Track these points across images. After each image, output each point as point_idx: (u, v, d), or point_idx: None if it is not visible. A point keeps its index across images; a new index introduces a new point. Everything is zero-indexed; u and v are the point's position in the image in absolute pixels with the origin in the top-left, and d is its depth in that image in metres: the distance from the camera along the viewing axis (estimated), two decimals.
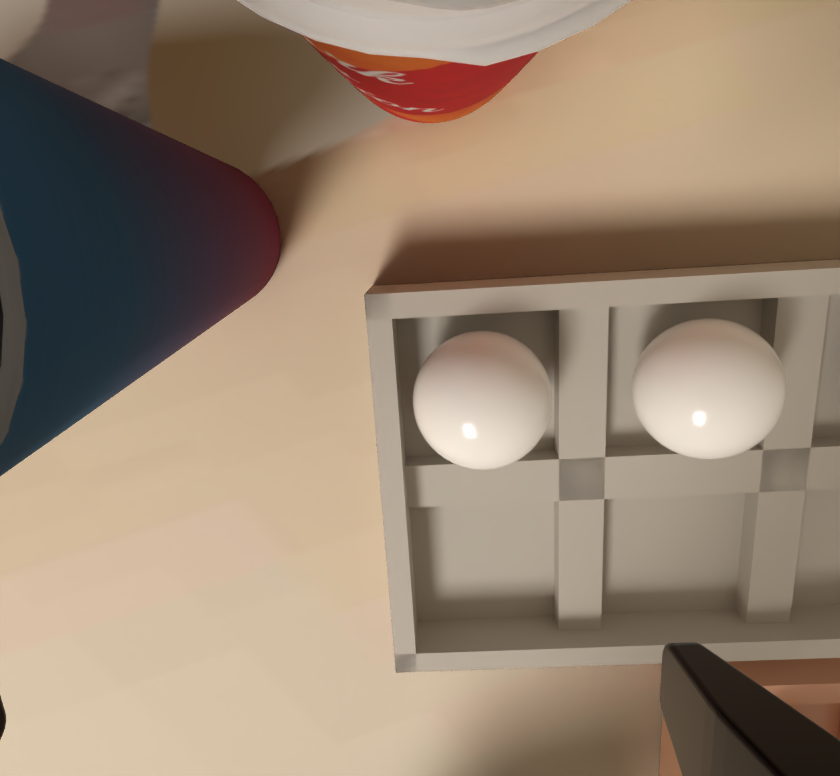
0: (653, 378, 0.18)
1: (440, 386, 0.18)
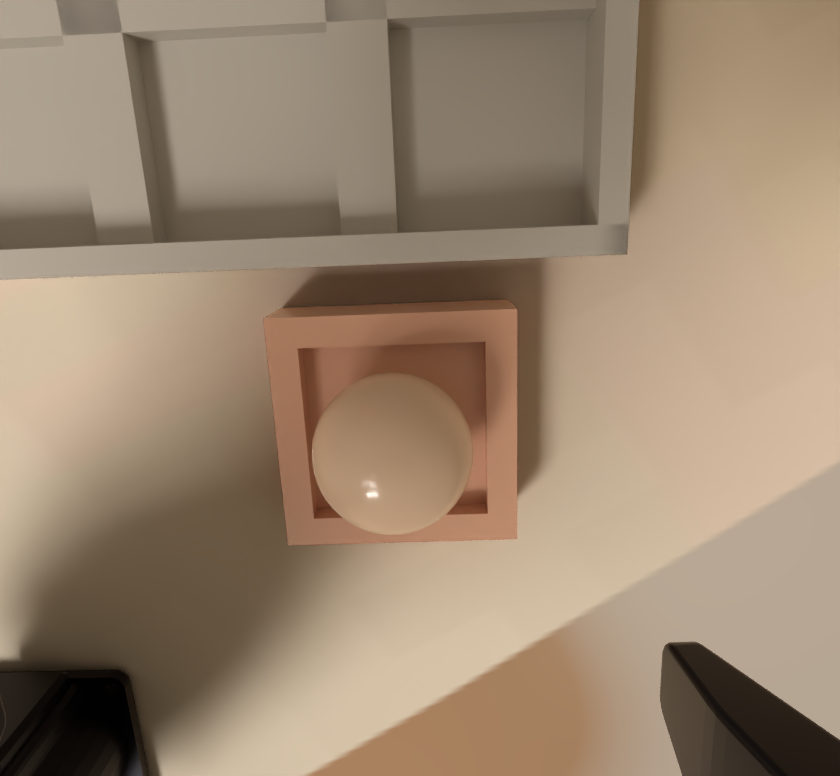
0: None
1: None
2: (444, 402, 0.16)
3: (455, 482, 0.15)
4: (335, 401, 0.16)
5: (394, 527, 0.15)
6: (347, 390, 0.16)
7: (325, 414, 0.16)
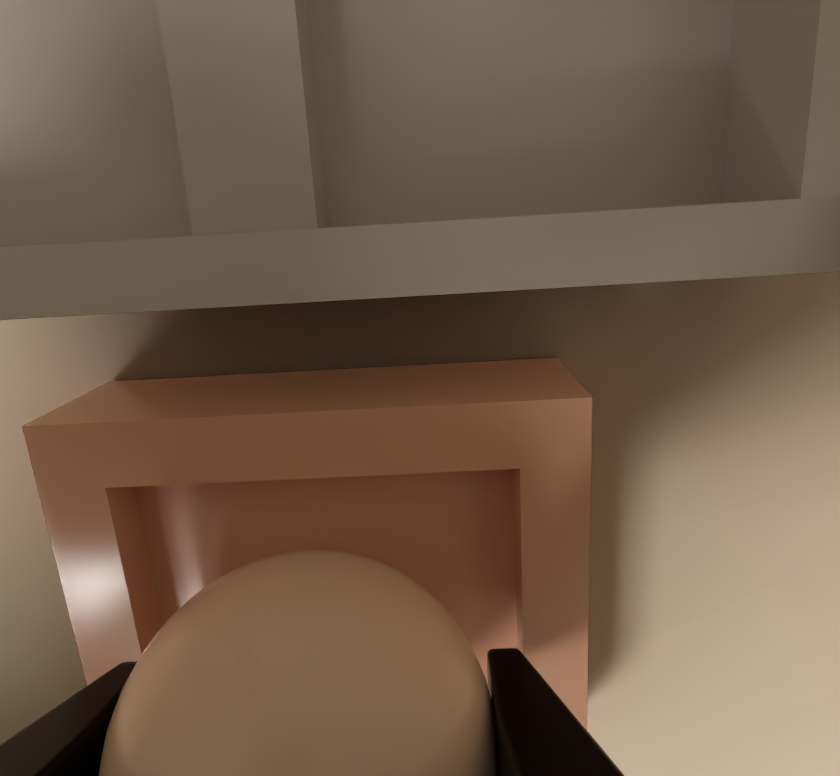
0: None
1: None
2: (423, 663, 0.06)
3: None
4: (151, 654, 0.06)
5: None
6: (182, 624, 0.06)
7: (126, 687, 0.06)
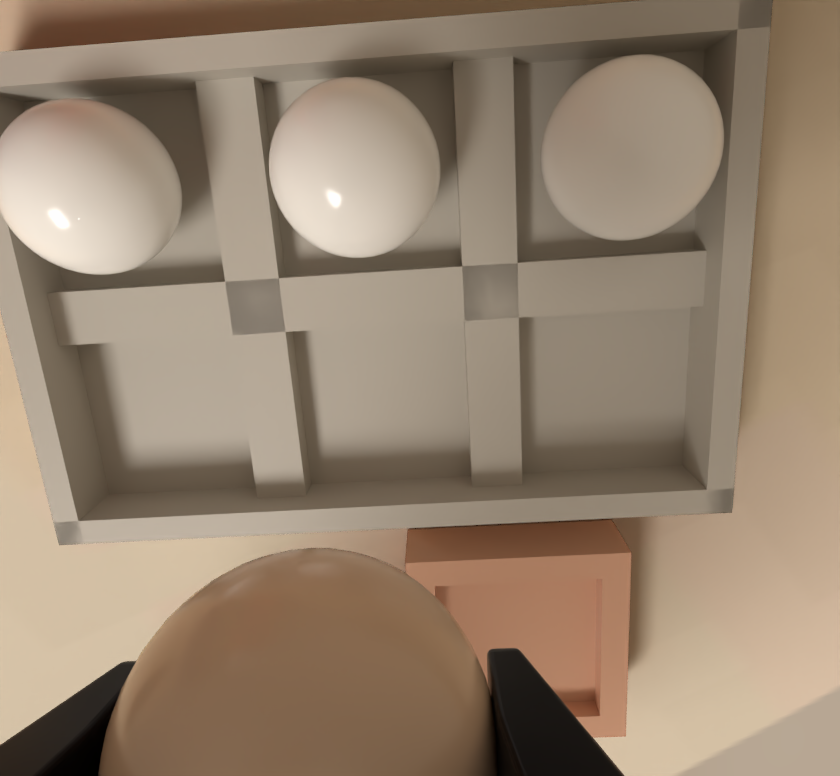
0: (271, 146, 0.15)
1: None
2: (423, 661, 0.06)
3: None
4: (151, 653, 0.06)
5: None
6: (182, 623, 0.06)
7: (126, 686, 0.06)
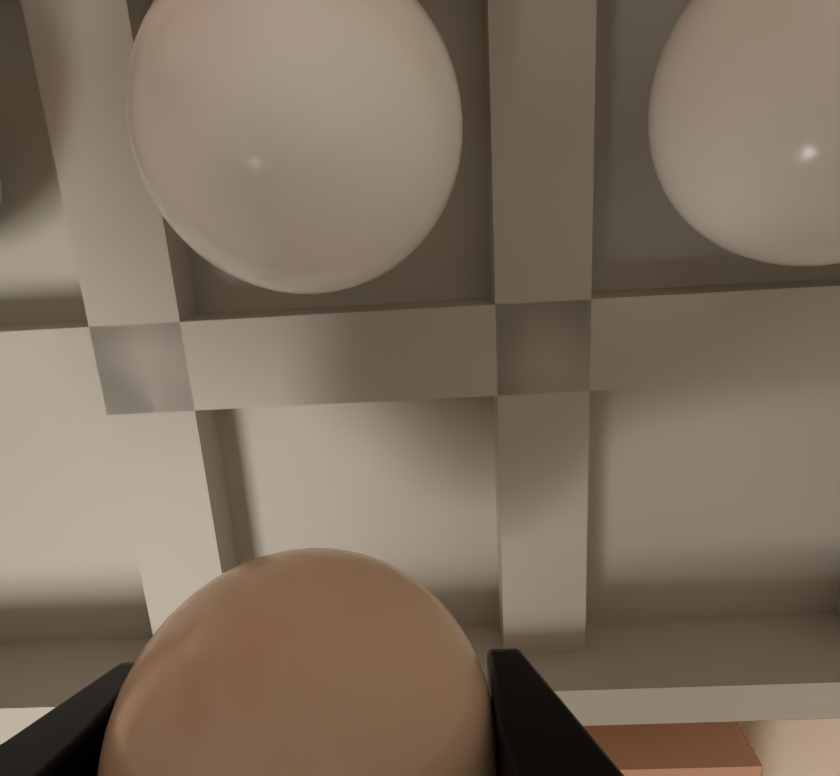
0: None
1: None
2: (423, 661, 0.06)
3: None
4: (150, 652, 0.06)
5: None
6: (181, 622, 0.06)
7: (125, 686, 0.06)
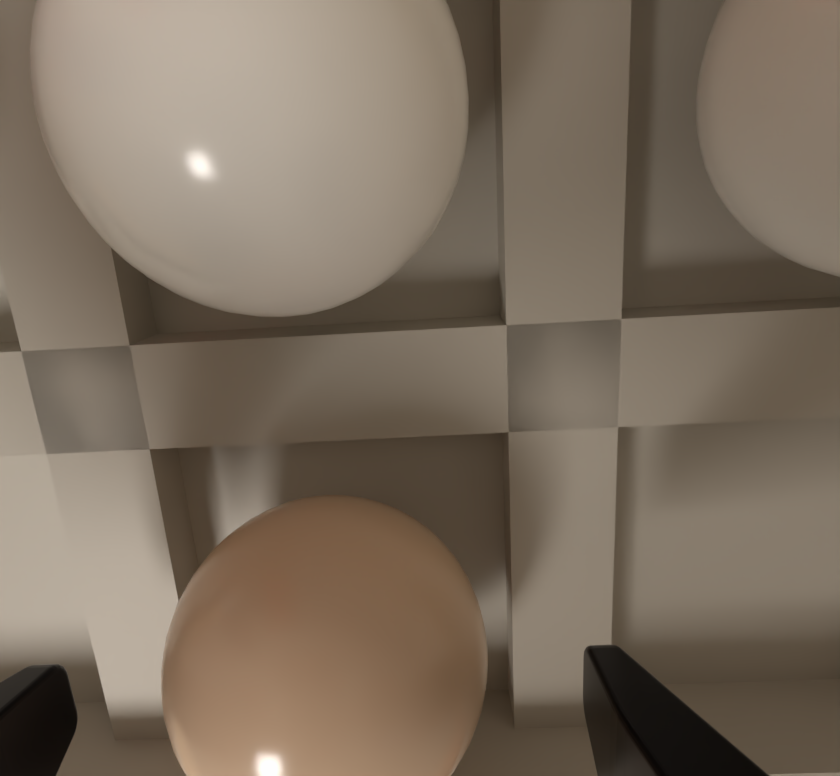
0: None
1: None
2: (426, 576, 0.08)
3: (453, 751, 0.07)
4: (203, 572, 0.08)
5: None
6: (228, 548, 0.08)
7: (183, 599, 0.08)
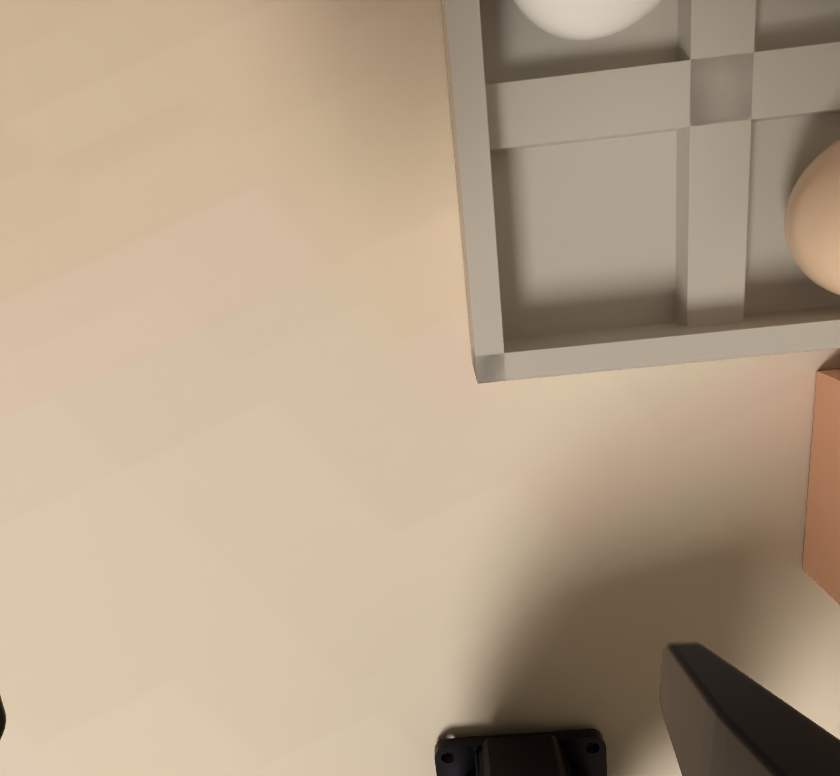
0: None
1: None
2: None
3: None
4: None
5: None
6: None
7: (837, 163, 0.15)
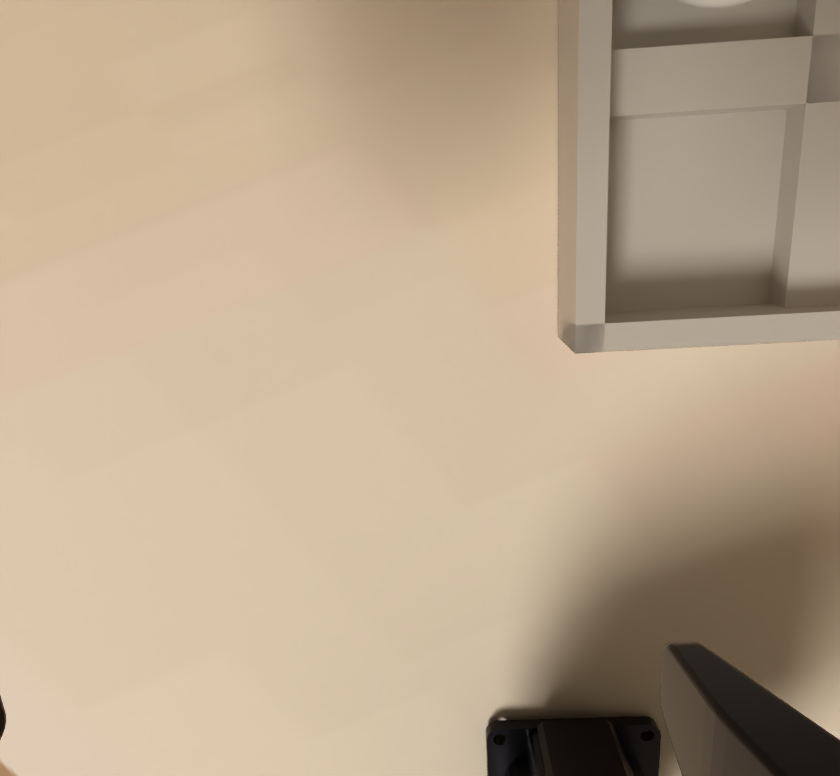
0: None
1: None
2: None
3: None
4: None
5: None
6: None
7: None
